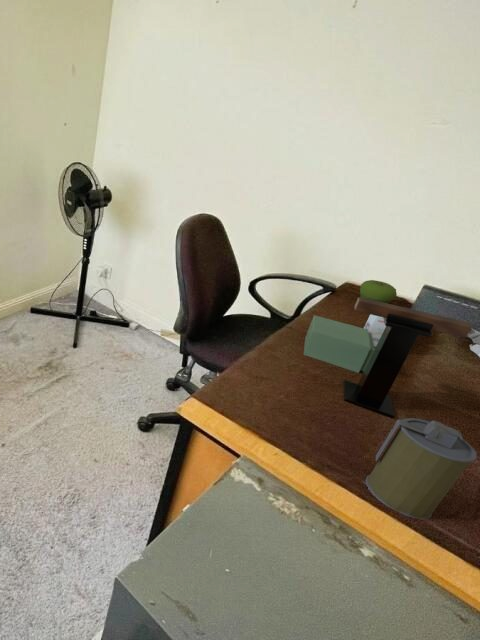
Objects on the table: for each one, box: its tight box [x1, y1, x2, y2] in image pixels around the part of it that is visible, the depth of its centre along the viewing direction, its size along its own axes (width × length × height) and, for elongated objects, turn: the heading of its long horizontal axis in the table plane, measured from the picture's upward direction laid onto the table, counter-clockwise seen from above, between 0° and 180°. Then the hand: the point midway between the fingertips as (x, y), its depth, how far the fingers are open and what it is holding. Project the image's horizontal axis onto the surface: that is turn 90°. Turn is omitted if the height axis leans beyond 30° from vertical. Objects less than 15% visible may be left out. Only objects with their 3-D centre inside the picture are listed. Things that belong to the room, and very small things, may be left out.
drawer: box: [359, 334, 376, 373], centre depth 129 cm, size 17×11×8 cm
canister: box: [365, 417, 478, 520], centre depth 83 cm, size 11×10×20 cm
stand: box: [342, 314, 433, 420], centre depth 109 cm, size 10×10×28 cm
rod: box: [354, 296, 473, 339], centre depth 103 cm, size 20×3×3 cm, turn 51°
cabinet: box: [303, 314, 371, 374], centre depth 131 cm, size 14×13×10 cm
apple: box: [359, 279, 398, 304], centre depth 163 cm, size 11×10×10 cm
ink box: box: [363, 314, 386, 346], centre depth 135 cm, size 9×5×12 cm, turn 59°
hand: (467, 336), depth 98 cm, fingers open, 8 cm apart
